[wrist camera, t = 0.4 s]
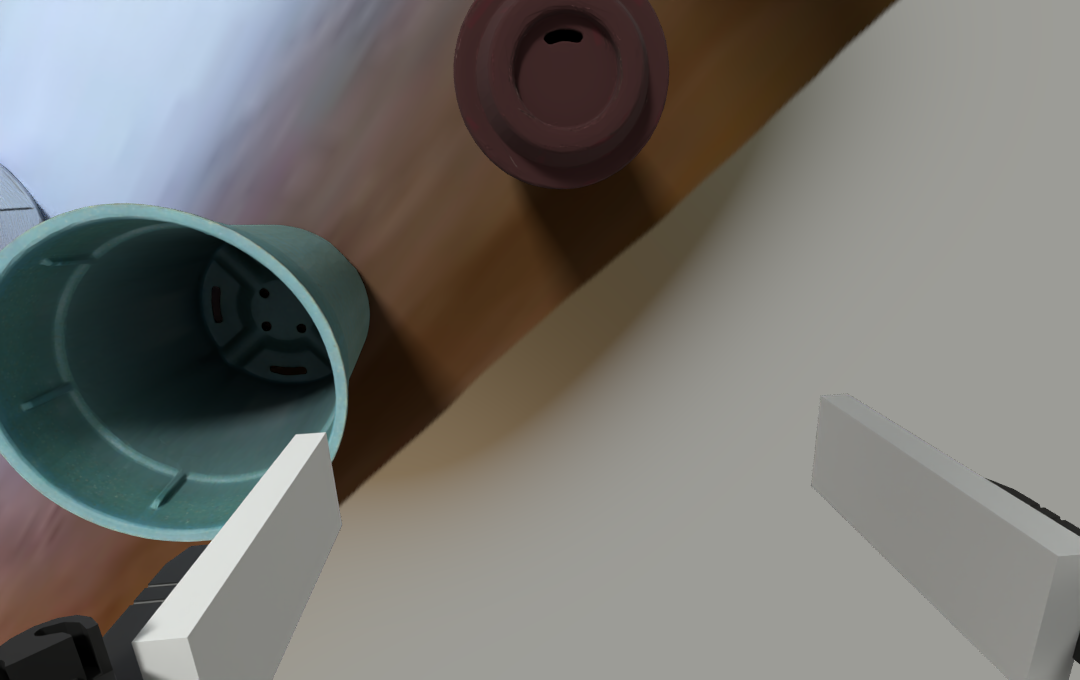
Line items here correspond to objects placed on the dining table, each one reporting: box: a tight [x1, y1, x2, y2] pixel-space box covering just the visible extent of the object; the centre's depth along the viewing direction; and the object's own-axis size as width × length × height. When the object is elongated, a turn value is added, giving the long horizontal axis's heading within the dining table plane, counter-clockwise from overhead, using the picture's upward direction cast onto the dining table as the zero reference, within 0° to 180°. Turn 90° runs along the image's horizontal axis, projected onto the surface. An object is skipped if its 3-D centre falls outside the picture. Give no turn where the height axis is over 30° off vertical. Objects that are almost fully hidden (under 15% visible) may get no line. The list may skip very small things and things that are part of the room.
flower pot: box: [0, 203, 370, 542], centre depth 33 cm, size 16×16×16 cm
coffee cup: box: [454, 0, 669, 189], centre depth 31 cm, size 10×10×15 cm
